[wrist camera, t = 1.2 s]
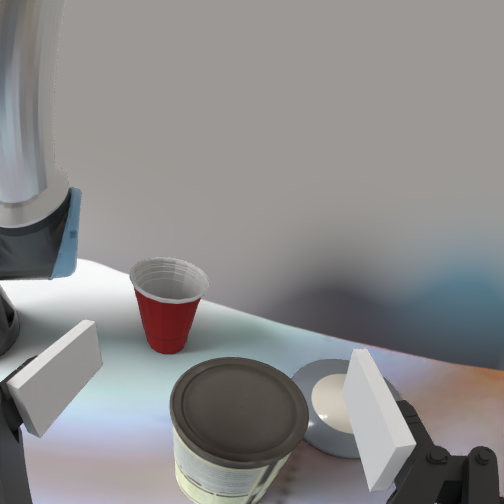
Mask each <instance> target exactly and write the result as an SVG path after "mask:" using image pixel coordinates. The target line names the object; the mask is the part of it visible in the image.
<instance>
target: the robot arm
mask: <svg viewBox="0 0 504 504" xmlns="http://www.w3.org/2000/svg"><path fill="white" fill-rule="evenodd" d="M66 2H67V0H0V280H47V279H48V280H52V279H53V278H61V277H68V276H71V275H72V274H73V273H74V272H75V270H76V266H77V245H78V229H79V215H80V205H81V194H82V193H81V190H80V189H77V188H74V187H70V188H69V181H68V177H67V174H66V173H65V171H64V170H63V169H62V168H61V167H59V166H58V165H56V164H55V149H54V97H55V80H56V68H57V57H58V49H59V41H60V34H61V28H62V22H63V17H64V11H65V6H66ZM19 327H20V325H19V320H18V316H17V313H16V310H15V308H14V306H13V304H12V303H11V301H10V300H9V298H8V297H7V295H6V293H5V292H4V290H3V289H2V287H1V285H0V356H1V355H2V354H4V353H5V352H6V351H7V350H8V349H9V348H10V347H11V346H12V345H13V343H14V342H15V340H16V338H17V336H18V333H19ZM102 365H103V363H102V358H101V353H100V347H99V341H98V335H97V328H96V322H95V321H90V320H85V319H84V320H83V321H81V322H80V323H79V324H78V325H76V326H75V327H74V328H72V329H71V330H70V331H69V332H67V333H66V334H65V335H64V336H62V337H61V338H60V339H59V340H57V341H56V342H55V343H54V344H52V345H51V346H50V347H49V348H47V349H46V350H45V351H44V352H42V353H41V354H40V355H39V356H35V357H32V358H30V359H28V360H27V361H26V362H24V363H23V364H22V366H19V367H18V368H17V370H15V371H13V372H12V373H11V374H10V375H9V376H7V377H6V378H5V379H4V380H3V381H1V382H0V504H33V503H32V499H31V494H30V489H29V484H28V478H27V472H26V465H25V458H24V449H23V439H22V431H21V428H20V425H21V424H22V423H24V425H25V427H26V429H27V431H28V432H29V433H31V434H33V435H35V436H37V437H39V438H41V437H42V436H43V434H44V433H45V432H46V431H47V429H48V428H49V427H50V426H51V425H52V423H53V422H54V421H55V420H56V419H57V417H58V416H59V415H60V414H61V413H62V411H63V410H64V409H65V408H66V407H67V406H68V404H69V403H70V402H71V401H72V400H73V399H74V397H75V396H76V395H77V394H78V393H79V392H80V390H81V389H82V388H83V387H84V386H85V385H86V383H87V382H88V381H89V380H90V379H91V378H92V377H93V375H94V374H95V373H96V372H97V371H98V370H99V369H100V367H101V366H102ZM342 396H343V399H344V402H345V406H346V409H347V412H348V416H349V419H350V423H351V426H352V429H353V433H354V436H355V440H356V443H357V447H358V450H359V454H360V457H361V461H362V465H363V468H364V472H365V476H366V480H367V483H368V487H369V491H370V492H373V491H380V490H386V489H389V487H390V486H391V484H392V483H393V481H394V482H395V485H396V490H395V491H394V492H393V494H392V495H391V496H390V498H389V499H388V500H387V503H386V504H434V503H437V504H500V496H499V477H498V465H497V458H496V455H495V453H494V452H493V451H492V450H491V449H489V448H488V447H483V446H479V447H475V448H473V449H472V450H471V452H470V453H469V454H468V456H452V455H450V453H449V452H448V451H447V450H446V449H444V448H442V447H440V446H435V445H434V444H433V442H432V440H431V438H430V436H429V434H428V432H427V431H426V429H425V427H424V425H423V423H421V420H420V418H419V417H418V414H417V413H416V411H415V409H414V407H413V406H412V405H410V404H409V403H408V402H407V401H406V400H402V401H395V400H394V398H393V396H392V394H391V392H390V390H389V388H388V386H387V384H386V383H385V381H384V379H383V377H382V375H381V373H380V371H379V369H378V368H377V366H376V364H375V362H374V360H373V358H372V357H371V355H370V353H369V351H368V349H353V350H352V355H351V359H350V363H349V367H348V371H347V375H346V378H345V382H344V386H343V389H342Z"/></svg>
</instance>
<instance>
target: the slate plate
mask: <svg viewBox="0 0 504 504" xmlns="http://www.w3.org/2000/svg"><path fill="white" fill-rule="evenodd" d="M349 363H350V361H348V360H341V359H326V360H319V361H315V362H312V363H310V364H308V365H306V366H304V367H303V368H301V369H300V370H299V371H298V372H297V373H296V374H295V375H294V376H293V378H292V379H291V380H292V381H294V383H295V384H296V385H297V386H298V387H299V389H300V390H301V391H302V393H303V395H304V397H305V399H306V402H307V405H308V409H309V423H308V428H307V430H306V433H305V435H304V437H303V439H304V440H305V441H306V442H308V443H309V444H310V445H312V446H313V447H315V448H316V449H318V450H320V451H322V452H324V453H327V454H329V455H332V456H336V457H340V458H346V459H360V458H361V457H360V454H359V450H358V447H357V443H356V440H355V436H354V433H353V429H352V426H351V423H350V419H349V416H348V412H347V409H346V406H345V402H344V399H343V396H342V389H343V386H344V382H345V378H346V375H347V371H348V367H349ZM382 377H383V376H382ZM383 379H384V381H385V383H386V384H387V386H388V388H389V390H390V392H391V394H392V396H393V398H394V400H395V401H401V398H400V396H399V394H398V393H397V391H396V390H395V388H394V387H393V386H392V385H391V384H390V383H389V382H388V381H387V380H386V379H385V378H384V377H383Z"/></svg>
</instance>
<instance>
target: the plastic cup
mask: <svg viewBox="0 0 504 504" xmlns="http://www.w3.org/2000/svg"><path fill="white" fill-rule="evenodd" d="M130 280H131V282H132V284H133V286H134V290H135V294H136V298H137V301H138V306H139V310H140V315H141V319H142V324H143V327H144V329H145V333H146V337H147V341H148V342H149V344H150V346H151V348H152V349H154V350H155V351H156V352H159V353H162V354H173V353H176V352H179V351H180V350H181V349H183V347H184V345H185V343H186V341H187V337H188V333H189V330H190V328H191V325H192V322H193V319H194V316H195V312H196V309H197V306H198V303H199V301H200V299H201V297H202V296H204V295H205V293H206V292H207V290H208V288H209V286H210V284H209V279H208V277H207V275H206V274H205V273H204V272H203V271H202V270H201V269H199V268H198V267H196V266H194V265H193V264H191V263H188V262H185V261H182V260H179V259H174V258H165V257H159V258H148V259H145V260H143V261H140V262H138V263H137V264H136V265H135V266H133V267H132V268H131V272H130Z"/></svg>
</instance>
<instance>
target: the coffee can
mask: <svg viewBox="0 0 504 504" xmlns="http://www.w3.org/2000/svg"><path fill="white" fill-rule="evenodd" d="M170 415H171V420H172V426H173V442H174V454H175V465H176V468H175V473H176V479H177V482H178V484H179V486H180V488H181V490H182V491H183V493H184V494H185V495H186V496H187V497H188V498H189V499H190V500H191V501H193V502H194V503H195V504H255V503H257V502H258V501H259V500H260V499H261V498H262V497H263V495H264V494H265V492H266V490H267V488H268V487H269V486H270V484H271V483H272V481H273V480H274V478H275V477H276V475H277V474H278V472H279V471H280V469H281V468H282V466H283V465H284V464H285V462H286V461H287V459H288V457H289V455H290V454H291V452H292V451H293V450H294V449H295V448H296V447H297V445H298V444H299V443H300V441H301V440H302V438H303V437H304V435H305V433H306V430H307V428H308V423H309V409H308V405H307V402H306V399H305V397H304V395H303V393H302V391H301V390H300V389H299V387H298V386H297V385H296V384H295V383H294V381H292V380H291V379H290V378H289V377H288V376H287V375H285V374H284V373H282V372H281V371H279V370H277V369H276V368H274V367H272V366H270V365H268V364H265V363H262V362H259V361H256V360H251V359H246V358H239V357H238V358H235V357H224V358H216V359H211V360H208V361H205V362H202V363H199V364H197V365H195V366H193V367H192V368H190V369H189V370H187V371H186V372H185V373H184V374H183V375H182V376H181V377H180V378H179V379H178V380H177V382H176V384H175V385H174V387H173V390H172V393H171V397H170Z"/></svg>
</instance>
